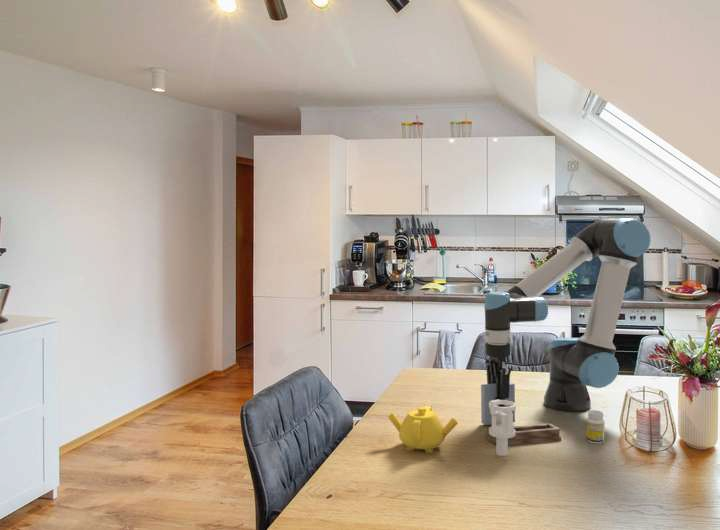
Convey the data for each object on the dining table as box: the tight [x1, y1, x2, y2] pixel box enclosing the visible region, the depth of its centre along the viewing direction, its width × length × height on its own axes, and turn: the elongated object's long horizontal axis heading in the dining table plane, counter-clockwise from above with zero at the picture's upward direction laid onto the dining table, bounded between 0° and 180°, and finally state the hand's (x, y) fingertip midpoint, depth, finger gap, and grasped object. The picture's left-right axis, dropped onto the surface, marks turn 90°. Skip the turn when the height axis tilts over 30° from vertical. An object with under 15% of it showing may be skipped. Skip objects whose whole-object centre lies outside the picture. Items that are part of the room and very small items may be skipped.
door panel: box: [480, 381, 516, 426], centre depth 191 cm, size 10×3×12 cm, turn 102°
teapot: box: [387, 405, 458, 454], centre depth 173 cm, size 20×18×11 cm
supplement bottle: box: [586, 409, 605, 445], centre depth 176 cm, size 5×5×8 cm
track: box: [484, 423, 562, 446], centre depth 179 cm, size 20×8×3 cm, turn 103°
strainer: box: [488, 399, 517, 457], centre depth 167 cm, size 7×7×15 cm
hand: (498, 417), depth 191 cm, fingers closed on door panel, 2 cm apart
